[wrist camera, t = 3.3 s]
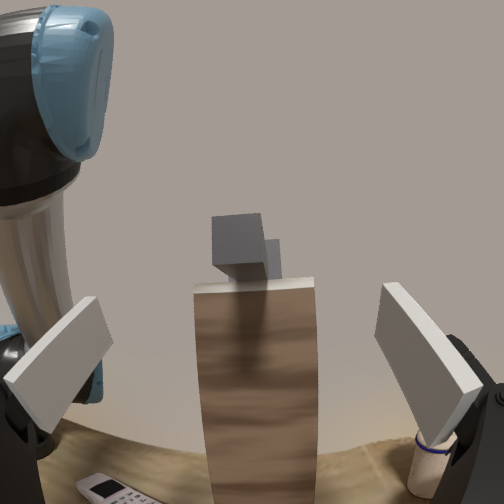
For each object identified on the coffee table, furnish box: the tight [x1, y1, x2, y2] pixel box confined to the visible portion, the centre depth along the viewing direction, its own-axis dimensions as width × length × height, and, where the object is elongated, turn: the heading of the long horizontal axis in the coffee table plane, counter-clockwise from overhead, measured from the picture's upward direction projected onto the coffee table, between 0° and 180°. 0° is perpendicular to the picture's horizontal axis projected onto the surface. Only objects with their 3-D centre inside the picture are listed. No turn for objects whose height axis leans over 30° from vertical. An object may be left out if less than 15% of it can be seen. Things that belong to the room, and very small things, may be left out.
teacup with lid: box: [407, 429, 457, 499], centre depth 21 cm, size 12×9×12 cm
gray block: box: [212, 213, 282, 282], centre depth 27 cm, size 21×6×5 cm, turn 175°
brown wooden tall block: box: [193, 277, 318, 504], centre depth 29 cm, size 10×12×30 cm
